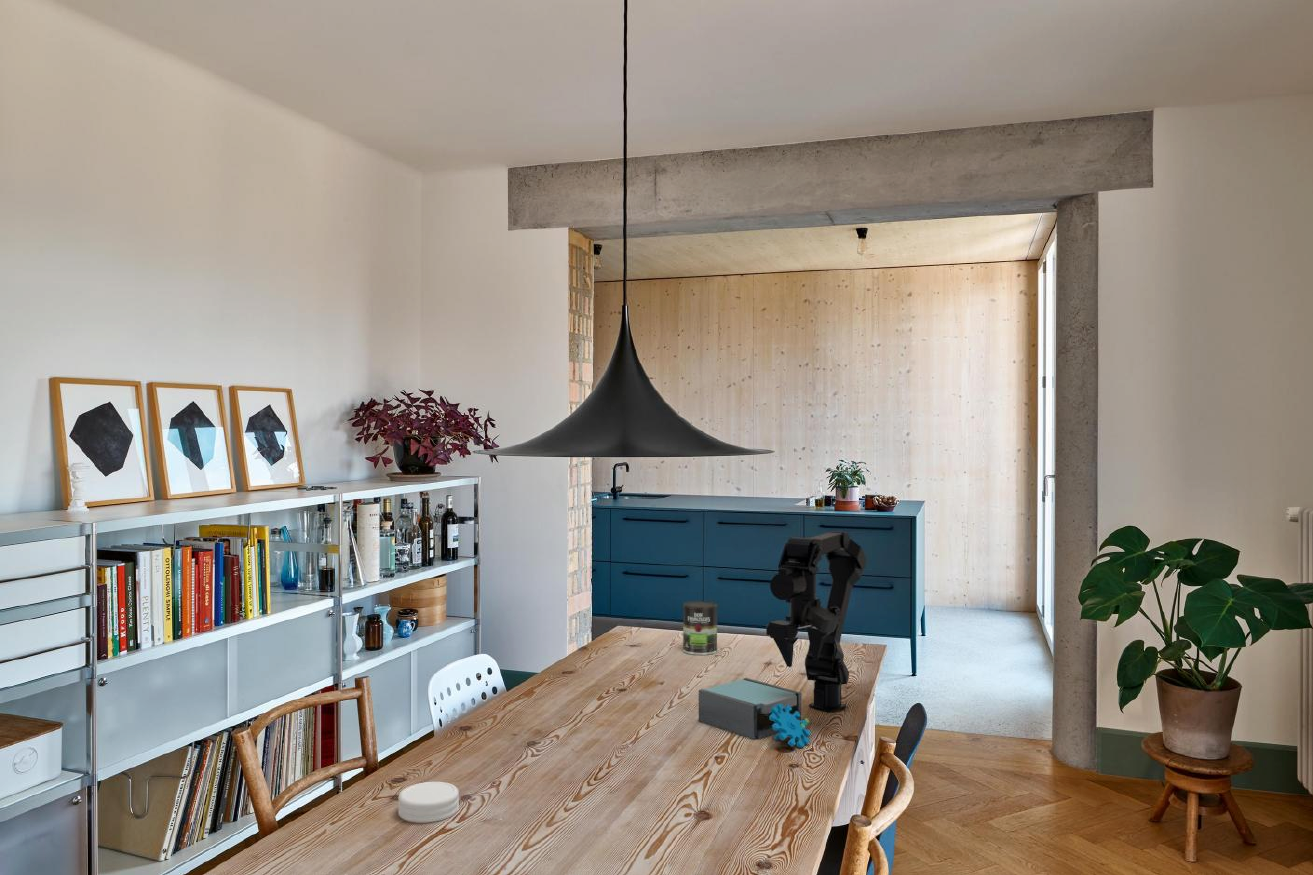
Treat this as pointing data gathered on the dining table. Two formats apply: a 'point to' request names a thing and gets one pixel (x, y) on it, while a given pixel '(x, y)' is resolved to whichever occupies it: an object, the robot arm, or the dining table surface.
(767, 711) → the sliding box lid
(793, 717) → the gear
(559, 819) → the dining table surface
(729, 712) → the grey drawer box
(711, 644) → the coffee can
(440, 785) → the coaster
